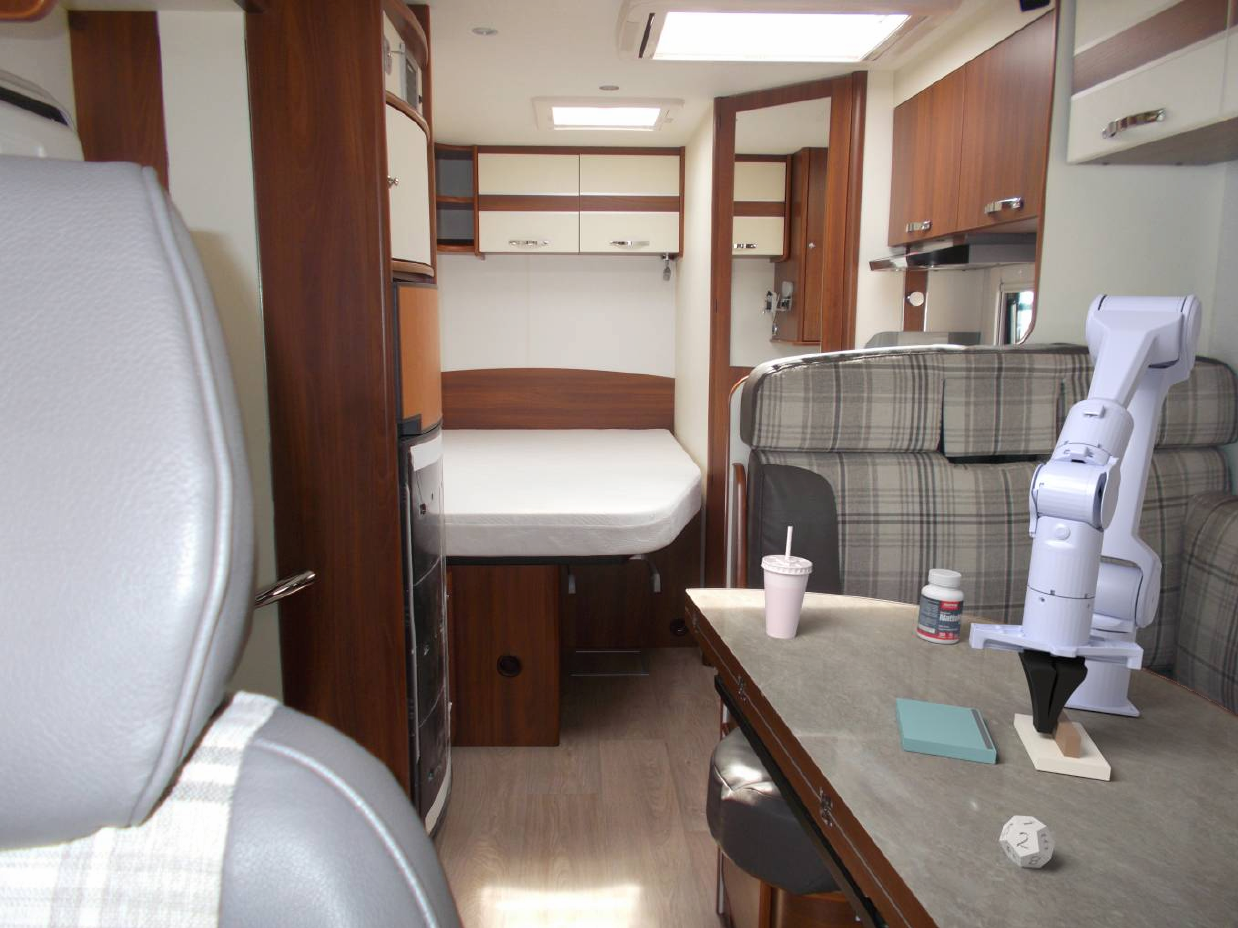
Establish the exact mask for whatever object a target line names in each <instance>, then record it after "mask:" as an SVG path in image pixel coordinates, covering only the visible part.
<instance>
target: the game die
mask: <svg viewBox="0 0 1238 928" xmlns="http://www.w3.org/2000/svg"><path fill="white" fill-rule="evenodd" d="M1002 827H1003V828H1002V830H1001V833H1000V836H999V840H998V841H999V843H1000V845H1001V847H1002V849H1003V851H1004V853H1005V855H1006V857H1007V858H1008V859H1009V860H1011V861H1012V862H1013V863H1015V864H1016V863H1017V864H1016V865H1017V866H1018V867H1020V868H1031V869H1032V868H1033V869H1040V868H1042V867H1043V866H1044V865H1046V864H1047V863H1048V862H1049V861H1050V860H1051V859H1052V856H1053V852H1054V848H1055V844H1056V842H1055V840H1054V838H1053V836H1052V834H1051V833H1050V831H1049V828H1048V826H1047V825H1046V824H1044V823H1043V822H1041V821H1040V820H1038V819H1037V818H1035V817H1034V816H1030V815H1029V816H1028V815H1013V817H1011V818H1010V819H1009V820H1008V821H1007V822H1006V823H1005V824H1004V825H1003V826H1002Z"/></svg>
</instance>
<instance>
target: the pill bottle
mask: <svg viewBox="0 0 1238 928" xmlns="http://www.w3.org/2000/svg"><path fill="white" fill-rule="evenodd" d="M962 578H963V577H962V574H961V573H960V572H958V571H955V570H951V569H947V568H931V569H929V571H928V579H927V580H928V582H929V584H927V585H925V586H923V588H922V589H921V593H920V601H919V607H918V608H919V609H918V618H917V627H916V635H917V636H918V637H919V638H920V639H922V640H924V641H927V642H929V643H935V644H942V645H953V644H956V643H958V642H959V640H960V634H961V626H962V617H963V616H962V615H963V610H964V609H963V608H964V602H965V596H964V595H965V594H964V592H962V590H960V589H959V587H960V586H961V584H962Z"/></svg>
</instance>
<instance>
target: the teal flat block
mask: <svg viewBox="0 0 1238 928" xmlns="http://www.w3.org/2000/svg"><path fill="white" fill-rule="evenodd" d="M894 710H895V715H896V720H897V725H898V730H899V731H898V732H899V735H900V736H899V737H900V740H901V747H902V751H905V752H906V751H907V752H912V753H913V752H914V753H919V754H924V755H925V754H926V755H931V756H938V757H943V758H944V757H946V758H951V759H958V760H965V761H971V762H977V763H978V762H979V763H984V764H991V765H996V758H997V750H996V748H995V746H994V743H993V740H992V738H991V736H990V734H989V730H988V729H987V727H986V725H985V722H984V720H983V717H982V714H981V713H980V709H978V708H972V707H966V706H964V707H963V706H957V705H950V704H943V703H937V702H936V703H935V702H929V701H922V700H916V699H914V700H913V699H908V698H901V697H895V707H894Z"/></svg>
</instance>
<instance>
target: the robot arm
mask: <svg viewBox="0 0 1238 928" xmlns="http://www.w3.org/2000/svg"><path fill="white" fill-rule="evenodd" d="M1202 321H1203V303H1202V301H1201V300H1200V299H1199V298H1198V296H1197V295H1196V294H1189V295H1188V296H1184V295H1183V296H1181V295H1180V296H1179V295H1178V296H1176V295H1174V296H1173V295H1172V296H1171V295H1109V294H1107V293H1100V294H1098V295H1097V296H1096V297H1095V298H1094V299H1093V300H1092V301H1091V303H1090V305H1089V308H1088V311H1087V316H1086V321H1085V322H1086V323H1085V342H1086V345H1087V348H1088V352H1089V356H1090V360H1091V361H1090V362H1091V364H1092V366H1093V368H1094V371H1093V374H1092V378H1091V382H1090V386H1089V390H1088V394H1087V398H1086V399H1084V400H1081V401H1078V402H1076V403H1075V404H1073V405H1072V407H1071V408H1070V409H1069V411H1068V413H1067V417H1066V419H1065V420H1064V423H1063V426H1062V429H1061V431H1060V434H1059V437H1058V438H1057V439H1058V440H1057V442H1056V444H1055V447H1054V449H1053V452H1052V455H1051V457H1050V459H1049V460H1048V461H1047V462H1046V464H1044V463H1039V464H1038V466H1037V467H1036V469H1035V471H1034V473H1033V476H1032V479H1031V482H1030V483H1031V485H1030V488H1029V498H1028V499H1029V500H1028V502H1029V503H1028V507H1029V516H1030V517H1029V518H1030V519H1029V528H1028V529H1029V530H1028V532H1029V535H1028V536H1029V537H1031V538H1032V539H1033V540H1032V548H1031V554H1030V562H1029V570H1028V577H1027V586H1026V593H1025V601H1024V608H1023V609H1024V610H1023V617H1022V622H1021V623H1022V624H1020V625H1019V624H988V623H987V624H986V623H976V622H971V623H970V630H969V639H968V642H969V645H970V647H971V649H976V650H984V649H986V648H987V649H992V650H993V649H994V650H998V651H1000V650H1001V651H1008V652H1015V653H1016V652H1017V654H1018V657H1019V660H1020V663H1021V665H1022V668H1023V671H1024V674H1025V678H1026V682H1027V686H1028V691H1029V695H1030V702H1031V710H1032V716H1033V726H1034V727H1035V729H1036V731H1037V732H1038V733H1045V734H1052V733H1053V730H1054V727H1055V724H1056V722H1057V720H1058V717H1059V715H1060V713H1061V711H1062V709H1063V710H1064V708H1070V709H1071V708H1072V709H1078V710H1084V711H1085V710H1086V711H1094V712H1100V713H1108V714H1114V715H1122V716H1129V717H1130V716H1131V717H1139V716H1140V714H1141V713H1140V711H1139V710H1138V709H1137V708H1136V707H1135V705H1134V704H1133V702H1131V701H1130V700H1129V699H1128V691H1129V685H1130V677H1131V673H1132V672H1131V670H1132V669H1133V670H1141V669H1142V662H1143V655H1144V649H1143V648H1142V647H1141V646H1140V645H1138V643H1137V642H1136V636H1137V630H1138V629H1140V628H1141V629H1145V628H1146V627H1147V626H1149V625H1151V624H1152V623H1153V621H1154V619H1155V616H1156V611H1157V609H1158V604H1159V599H1160V591H1161V575H1162V574H1161V573H1162V566H1163V565H1162V563H1161V562H1162V561H1161V560H1160V556H1159V555H1158V554H1157V553H1156V552H1155V551H1154V550H1153V549H1152V548H1151V547H1150V546H1149V545H1148V544H1147V543H1145V541H1143V540H1142V539H1141V538H1140V537H1139V536H1138V532H1139V528H1140V522H1141V521H1140V520H1141V517H1142V512H1143V508H1144V507H1143V505H1144V501H1145V494H1146V490H1147V485H1148V480H1149V479H1148V478H1149V473H1150V470H1151V469H1150V468H1151V463H1152V458H1153V455H1154V454H1153V453H1154V447H1155V444H1156V443H1155V442H1156V437H1157V432H1158V426H1159V420H1160V416H1161V412H1162V411H1161V410H1162V406H1163V404H1164V402H1165V398H1166V396H1167V394H1168V391H1169V390H1170V387H1171V386H1173V385H1175V384H1179V383H1181V382H1184V381H1187V380H1189V378H1190V374H1191V371H1192V370H1193V369H1194V365H1195V360H1196V354H1197V350H1198V344H1199V341H1200V340H1199V339H1200V334H1201V328H1202ZM1102 558H1106V559H1110V560H1117V561H1122V562H1127V563H1132V564H1136V565H1138V567H1135V566H1129V565H1125V564H1119V563H1116V562H1115V563H1114V562H1113V563H1112V562H1109V561H1102V560H1101V559H1102Z"/></svg>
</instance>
